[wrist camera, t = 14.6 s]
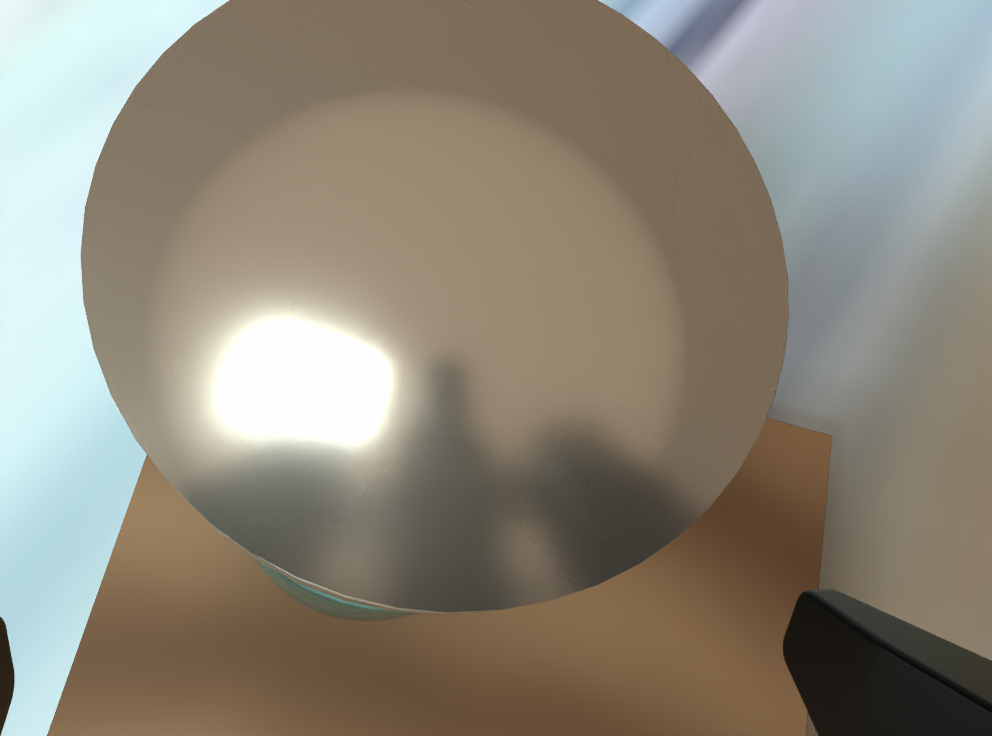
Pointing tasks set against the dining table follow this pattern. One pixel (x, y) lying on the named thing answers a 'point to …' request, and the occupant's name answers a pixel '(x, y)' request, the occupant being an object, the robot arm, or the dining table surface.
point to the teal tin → (434, 295)
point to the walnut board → (461, 634)
